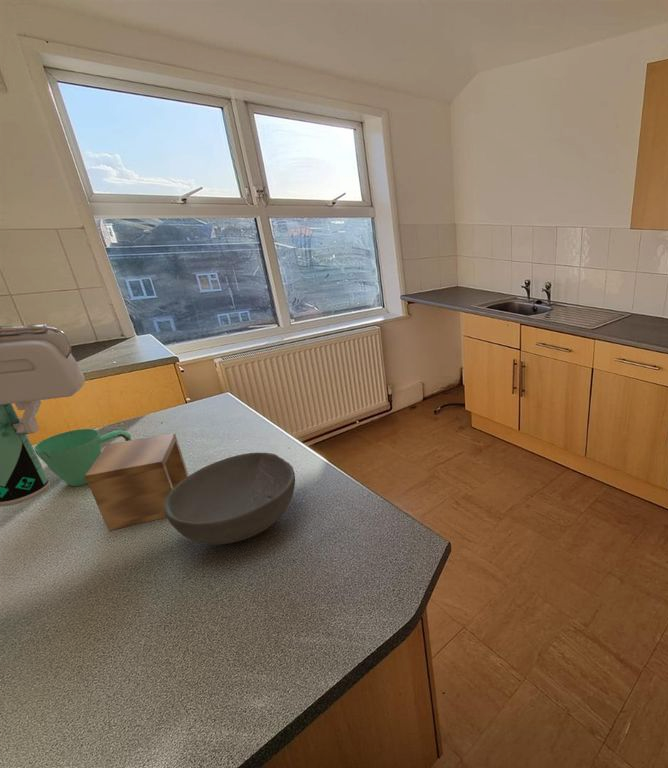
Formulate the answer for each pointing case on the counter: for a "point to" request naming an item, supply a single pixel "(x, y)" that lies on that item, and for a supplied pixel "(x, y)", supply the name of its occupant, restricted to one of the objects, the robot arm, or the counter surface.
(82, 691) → the counter surface
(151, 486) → the wooden box
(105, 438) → the mug
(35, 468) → the spray can
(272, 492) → the bowl
